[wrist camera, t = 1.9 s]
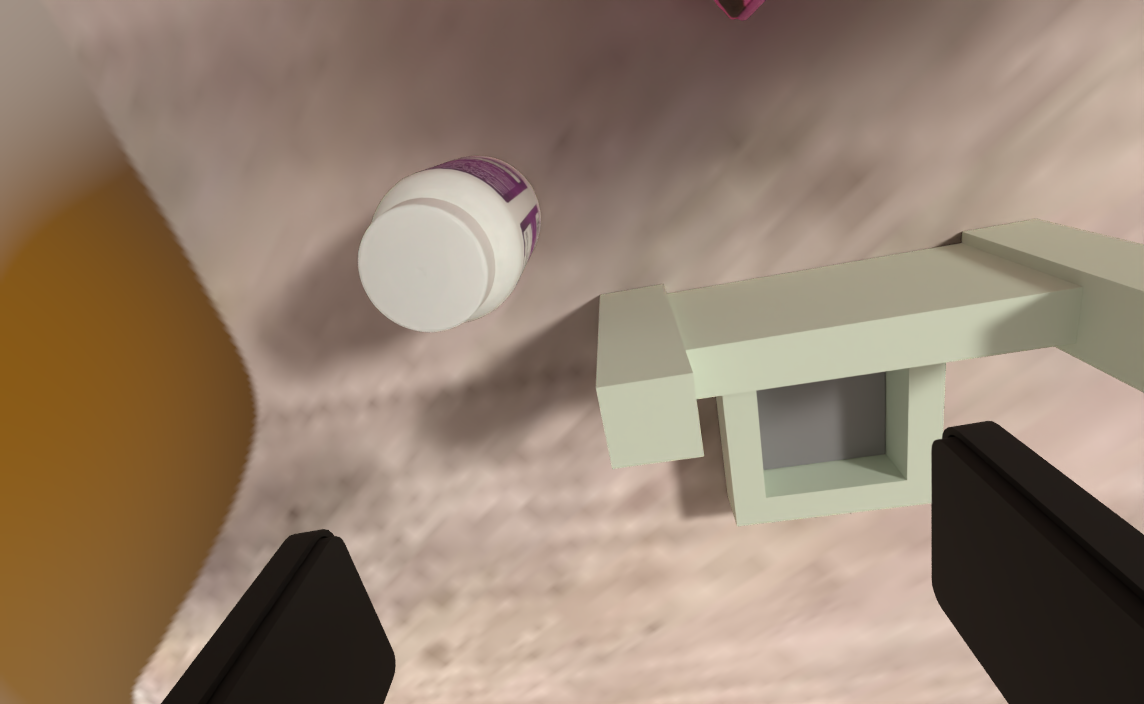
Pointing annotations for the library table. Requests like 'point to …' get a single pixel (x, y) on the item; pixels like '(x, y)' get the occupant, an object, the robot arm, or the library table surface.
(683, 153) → the library table surface
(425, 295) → the pill bottle
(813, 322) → the grey holder stand
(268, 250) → the library table surface
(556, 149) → the library table surface
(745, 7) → the pencil case
